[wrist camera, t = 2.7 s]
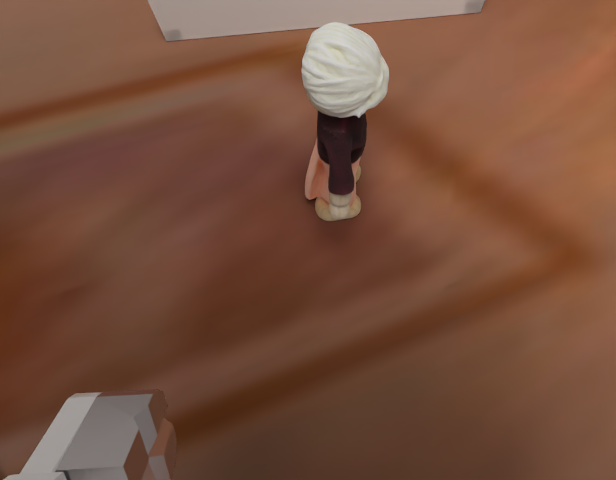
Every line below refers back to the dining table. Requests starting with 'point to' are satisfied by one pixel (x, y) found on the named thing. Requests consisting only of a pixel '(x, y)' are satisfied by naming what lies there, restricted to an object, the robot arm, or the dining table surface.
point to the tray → (289, 14)
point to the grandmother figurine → (340, 113)
